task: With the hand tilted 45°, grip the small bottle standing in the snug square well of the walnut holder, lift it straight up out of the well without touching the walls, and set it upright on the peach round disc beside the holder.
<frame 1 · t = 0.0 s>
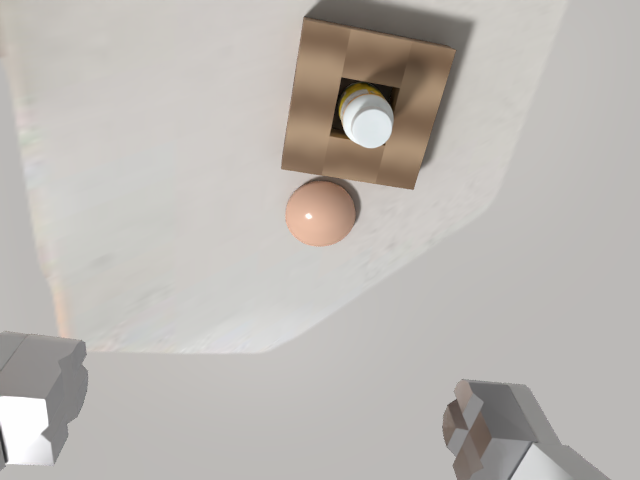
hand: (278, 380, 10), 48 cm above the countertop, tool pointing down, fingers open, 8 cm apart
walnut holder: (360, 104, 55), on the countertop
supplement bottle: (359, 104, 56), resting in walnut holder
peach round disc: (320, 212, 62), on the countertop
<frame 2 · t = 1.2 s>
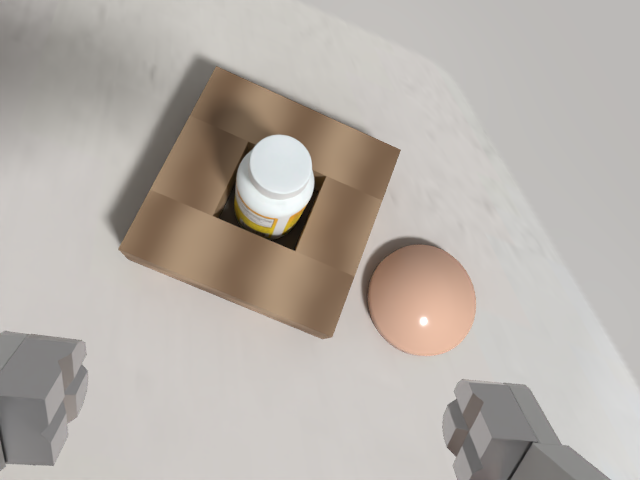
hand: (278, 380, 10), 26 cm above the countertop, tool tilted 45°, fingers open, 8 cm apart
walnut holder: (267, 209, 39), on the countertop
supplement bottle: (267, 210, 39), resting in walnut holder
peach round disc: (419, 299, 39), on the countertop
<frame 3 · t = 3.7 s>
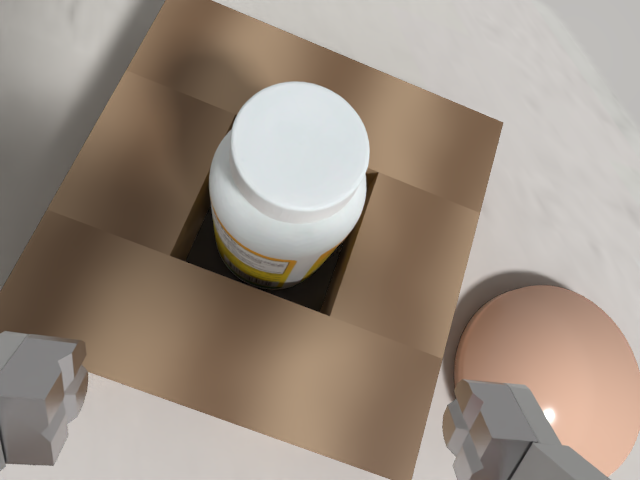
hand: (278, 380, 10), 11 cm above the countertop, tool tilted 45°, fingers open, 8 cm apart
walnut holder: (273, 234, 22), on the countertop
supplement bottle: (273, 235, 23), resting in walnut holder
peach round disc: (542, 381, 23), on the countertop
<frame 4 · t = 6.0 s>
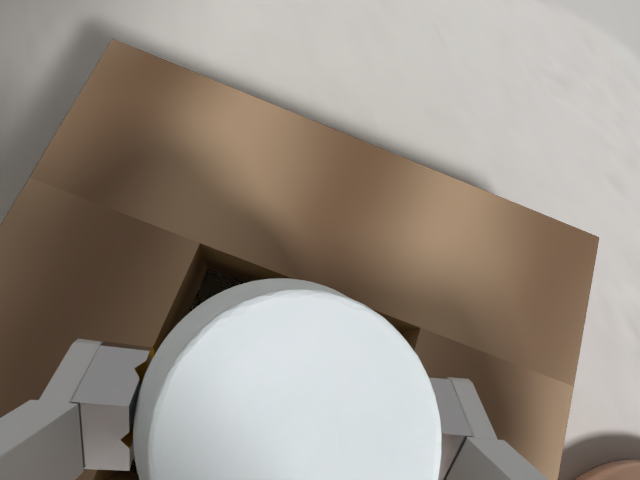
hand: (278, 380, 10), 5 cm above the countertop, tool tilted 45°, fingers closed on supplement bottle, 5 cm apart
walnut holder: (262, 396, 15), on the countertop
supplement bottle: (261, 396, 16), resting in walnut holder, touching gripper
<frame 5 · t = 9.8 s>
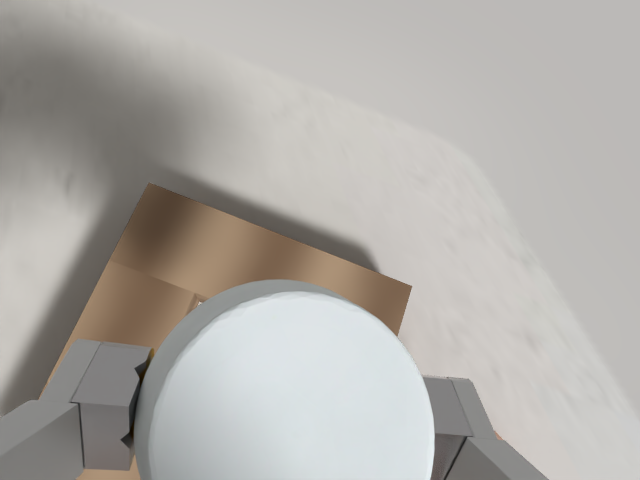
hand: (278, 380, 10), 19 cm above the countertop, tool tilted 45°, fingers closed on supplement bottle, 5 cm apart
walnut holder: (228, 372, 28), on the countertop
supplement bottle: (260, 395, 16), point 13 cm above the countertop, touching gripper
when the fingers open (8 cm above the countertop, at t = 13.6 s): supplement bottle stays where it is, resting on peach round disc.
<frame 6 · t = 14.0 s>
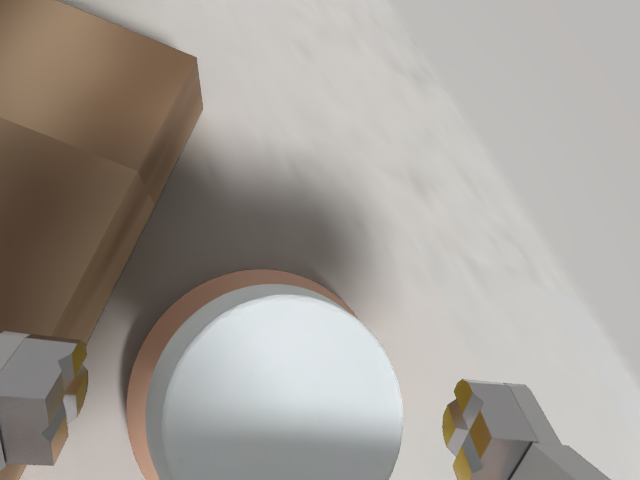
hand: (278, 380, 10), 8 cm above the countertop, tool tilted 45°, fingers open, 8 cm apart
supplement bottle: (258, 391, 17), point 1 cm above the countertop, touching peach round disc
peach round disc: (259, 392, 18), on the countertop
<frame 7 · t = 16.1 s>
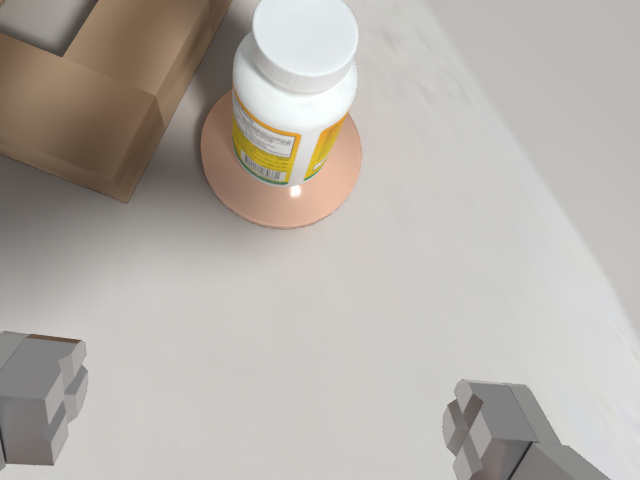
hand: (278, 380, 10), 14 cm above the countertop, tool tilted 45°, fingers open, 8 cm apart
walnut holder: (56, 29, 27), on the countertop
supplement bottle: (281, 146, 27), point 1 cm above the countertop, touching peach round disc
peach round disc: (281, 154, 27), on the countertop
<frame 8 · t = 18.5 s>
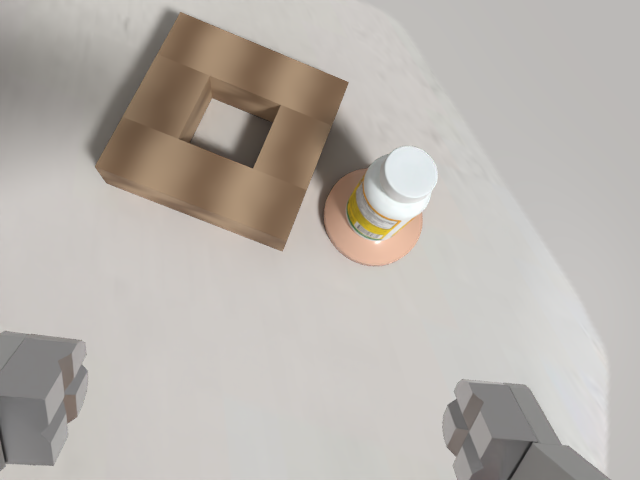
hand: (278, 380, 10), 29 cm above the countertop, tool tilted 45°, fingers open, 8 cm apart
walnut holder: (231, 140, 43), on the countertop
supplement bottle: (373, 214, 43), point 1 cm above the countertop, touching peach round disc
peach round disc: (371, 218, 44), on the countertop
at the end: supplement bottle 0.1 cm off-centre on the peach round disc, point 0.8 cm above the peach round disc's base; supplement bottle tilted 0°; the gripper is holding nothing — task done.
